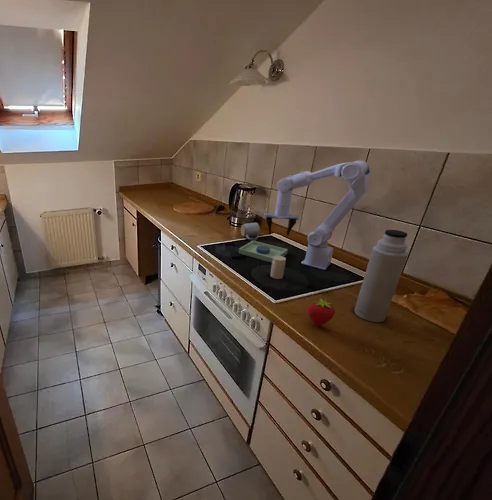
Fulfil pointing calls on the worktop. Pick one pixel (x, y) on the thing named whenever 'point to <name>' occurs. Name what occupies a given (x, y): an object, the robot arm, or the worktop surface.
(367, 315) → the thermos bottle
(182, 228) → the worktop surface
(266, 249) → the jar lid
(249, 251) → the tray
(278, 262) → the jar
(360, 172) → the robot arm
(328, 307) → the strawberry
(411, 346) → the worktop surface
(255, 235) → the ceramic mug
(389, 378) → the worktop surface
